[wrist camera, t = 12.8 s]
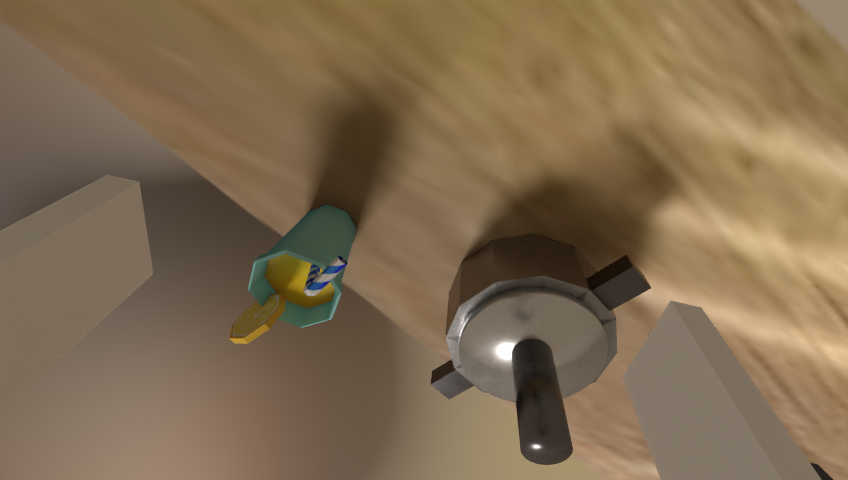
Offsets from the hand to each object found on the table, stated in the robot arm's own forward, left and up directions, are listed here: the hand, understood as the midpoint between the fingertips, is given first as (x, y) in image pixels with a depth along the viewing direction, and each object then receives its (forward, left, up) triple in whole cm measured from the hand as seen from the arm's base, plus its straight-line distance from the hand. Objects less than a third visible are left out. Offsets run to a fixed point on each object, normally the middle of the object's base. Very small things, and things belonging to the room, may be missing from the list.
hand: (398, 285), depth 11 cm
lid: (+20, +13, -22) cm, 32 cm away
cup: (+16, -8, -29) cm, 34 cm away
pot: (+20, +13, -29) cm, 37 cm away
